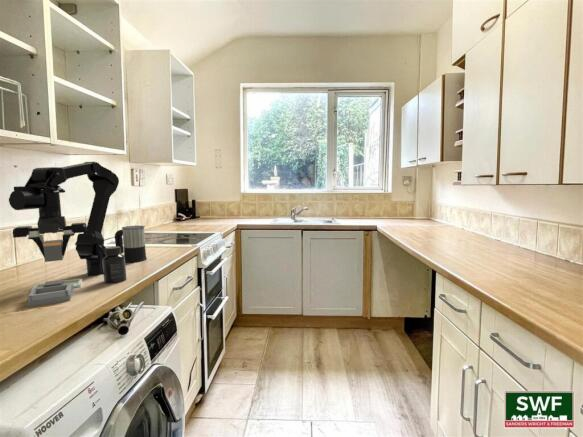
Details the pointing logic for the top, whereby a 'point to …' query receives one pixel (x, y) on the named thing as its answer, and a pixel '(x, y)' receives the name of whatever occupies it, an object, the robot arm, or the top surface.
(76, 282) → the tray
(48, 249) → the plug
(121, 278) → the supplement bottle
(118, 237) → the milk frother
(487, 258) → the top surface
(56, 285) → the grey storage bin
